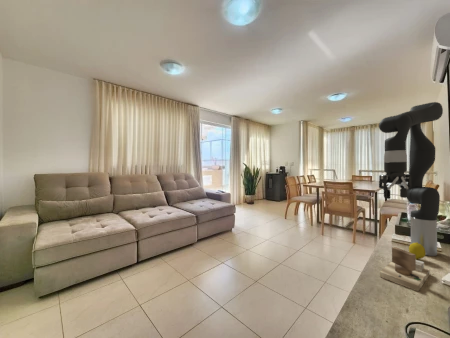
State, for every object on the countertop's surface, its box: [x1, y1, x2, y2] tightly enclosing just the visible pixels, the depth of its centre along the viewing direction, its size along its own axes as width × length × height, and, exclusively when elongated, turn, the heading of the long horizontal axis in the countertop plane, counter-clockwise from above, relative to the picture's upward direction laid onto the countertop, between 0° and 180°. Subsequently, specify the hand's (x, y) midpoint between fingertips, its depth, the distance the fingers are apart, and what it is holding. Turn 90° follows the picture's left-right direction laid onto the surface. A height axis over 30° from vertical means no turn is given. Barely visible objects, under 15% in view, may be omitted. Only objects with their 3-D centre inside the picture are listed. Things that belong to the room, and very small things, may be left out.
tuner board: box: [379, 259, 431, 292], centre depth 77 cm, size 18×11×4 cm, turn 124°
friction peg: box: [391, 246, 419, 279], centre depth 75 cm, size 8×5×8 cm, turn 11°
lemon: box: [408, 242, 426, 260], centre depth 89 cm, size 6×6×8 cm
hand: (395, 197), depth 84 cm, fingers open, 8 cm apart
